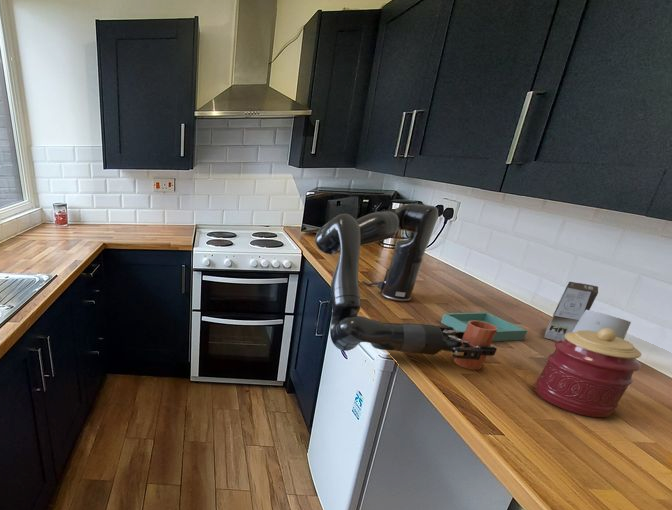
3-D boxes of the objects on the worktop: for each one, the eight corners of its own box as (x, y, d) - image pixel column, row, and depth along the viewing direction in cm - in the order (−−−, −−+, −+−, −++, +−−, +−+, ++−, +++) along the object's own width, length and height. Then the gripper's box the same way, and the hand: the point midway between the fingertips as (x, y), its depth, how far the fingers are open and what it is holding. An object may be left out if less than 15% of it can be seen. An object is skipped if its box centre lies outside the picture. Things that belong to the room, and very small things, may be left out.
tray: (440, 322, 127) (443, 313, 126) (483, 320, 130) (486, 312, 128) (477, 341, 115) (481, 332, 114) (523, 339, 117) (527, 330, 116)
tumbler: (448, 358, 105) (462, 320, 100) (467, 357, 106) (482, 320, 101) (466, 370, 100) (482, 330, 95) (486, 369, 101) (503, 329, 96)
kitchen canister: (627, 413, 85) (673, 339, 78) (586, 423, 81) (631, 346, 74) (556, 381, 96) (591, 314, 89) (518, 388, 93) (551, 319, 86)
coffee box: (572, 345, 115) (599, 293, 108) (543, 337, 119) (567, 287, 113) (573, 336, 121) (599, 286, 114) (545, 329, 125) (568, 280, 119)
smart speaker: (615, 364, 105) (643, 315, 100) (600, 372, 101) (629, 321, 96) (569, 348, 113) (592, 302, 107) (554, 355, 109) (577, 307, 103)
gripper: (399, 339, 110) (462, 344, 108) (425, 365, 97) (497, 371, 95) (407, 314, 107) (472, 318, 105) (434, 337, 94) (509, 343, 92)
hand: (484, 343), depth 100 cm, fingers open, 7 cm apart
